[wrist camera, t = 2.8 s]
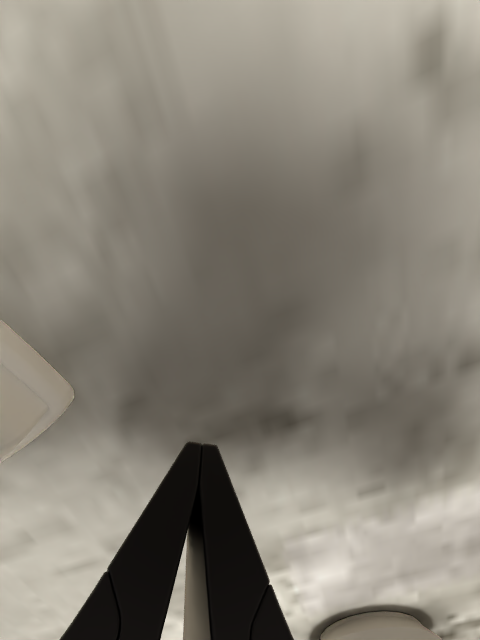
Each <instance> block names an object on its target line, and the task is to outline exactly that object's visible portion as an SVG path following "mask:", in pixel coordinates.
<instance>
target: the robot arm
mask: <svg viewBox="0 0 480 640" xmlns="http://www.w3.org/2000/svg"><path fill="white" fill-rule="evenodd" d="M187 531H188V533H187ZM186 535H187V552H186V578H185V604H184V630H183V640H294V639H293V636H292V634H291V632H290V629H289V627H288V625H287V622H286V620H285V617H284V615H283V613H282V610H281V608H280V605H279V603H278V600H277V598H276V595H275V592H274V590H273V587H272V585H270V584H269V582H270V580H269V578H268V575H267V572H266V570H265V567H264V565H263V562H262V560H261V557H260V554H259V552H258V549H257V547H256V544H255V542H254V539H253V536H252V534H251V531H250V529H249V526H248V524H247V521H246V519H245V516H244V513H243V511H242V508H241V506H240V503H239V501H238V498H237V495H236V493H235V490H234V488H233V485H232V483H231V480H230V478H229V475H228V472H227V470H226V467H225V465H224V462H223V460H222V457H221V454H220V452H219V449H218V447H217V446H216V445H211V444H203V445H201V443H197V442H187V443H186V444H185V446H184V447H183V449H182V451H181V452H180V454H179V455H178V457H177V459H176V460H175V462H174V463H173V465H172V466H171V468H170V470H169V471H168V473H167V474H166V476H165V478H164V479H163V481H162V482H161V484H160V485H159V487H158V489H157V490H156V492H155V493H154V495H153V497H152V498H151V500H150V501H149V503H148V505H147V506H146V508H145V509H144V511H143V512H142V514H141V516H140V517H139V519H138V520H137V522H136V524H135V525H134V527H133V528H132V530H131V532H130V533H129V535H128V536H127V538H126V539H125V541H124V543H123V544H122V546H121V547H120V549H119V551H118V552H117V554H116V555H115V557H114V559H113V560H112V562H111V563H110V565H109V566H108V569H107V571H106V572H105V573H104V574H103V576H102V577H101V579H100V580H99V582H98V583H97V585H96V587H95V588H94V590H93V591H92V593H91V594H90V596H89V597H88V599H87V600H86V602H85V603H84V605H83V607H82V608H81V610H80V611H79V613H78V614H77V616H76V617H75V619H74V620H73V622H72V623H71V625H70V626H69V627H68V629H67V630H66V632H65V633H64V634H63V636H62V637H61V638H60V640H160V638H161V634H162V630H163V626H164V622H165V619H166V615H167V611H168V607H169V603H170V599H171V595H172V591H173V587H174V583H175V579H176V575H177V571H178V567H179V563H180V559H181V555H182V551H183V547H184V543H185V539H186Z"/></svg>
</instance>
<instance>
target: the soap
mask: <svg viewBox="0 0 480 640" xmlns="http://www.w3.org/2000/svg"><path fill="white" fill-rule="evenodd" d="M73 399H74V390H73V388H72V387H71V385H70V384H69V383H68V382H67V381H66V380H65V379H64V378H63V377H62V376H61V375H60V374H59V373H58V372H57V371H56V370H55V369H54V368H53V367H52V366H51V365H50V364H49V363H48V362H47V361H46V360H45V359H44V358H43V357H42V356H40V355H39V354H38V353H37V352H36V351H35V350H34V349H33V348H32V347H31V346H30V345H29V344H28V343H26V342H25V341H24V340H23V339H22V338H21V337H20V336H19V335H18V334H17V333H16V332H15V331H13V330H12V329H11V328H10V327H9V326H8V325H7V324H6V323H4V322H3V321H2V320H1V319H0V463H1V462H3V461H4V460H6V459H7V458H9V457H10V456H12V455H13V454H15V453H16V452H18V451H19V450H21V449H22V448H23V447H25V446H26V445H28V444H29V443H30V442H32V441H33V440H34V439H35V438H37V437H38V436H39V435H40V434H41V433H43V432H44V431H45V430H46V429H47V428H48V427H50V426H51V425H52V424H53V423H54V422H55V421H56V420H57V419H58V418H59V417H60V416H61V415H62V414H63V413H64V412H65V411H66V409H67V408H68V406H69V405H70V404H71V402H72V401H73Z"/></svg>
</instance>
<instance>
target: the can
mask: <svg viewBox="0 0 480 640" xmlns="http://www.w3.org/2000/svg"><path fill="white" fill-rule="evenodd" d="M320 640H443V639H442V638H440V637H439V636H438V635H436V634H435V633H433V632H432V631H430V630H429V629H427V628H426V627H424V626H423V625H421V623H420V622H419V621H418V620H417V619H416V618H414V617H413V616H411V615H407V614H404V613H400V612H388V611H380V612H367V613H363V614H358V615H354V616H350V617H347V618H345V619H342V620H340V621H337V622H335V623H334V624H332V625H331V626H329V627H328V628H326V629H325V631H324V632H323V633H322V634H321V638H320Z"/></svg>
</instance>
